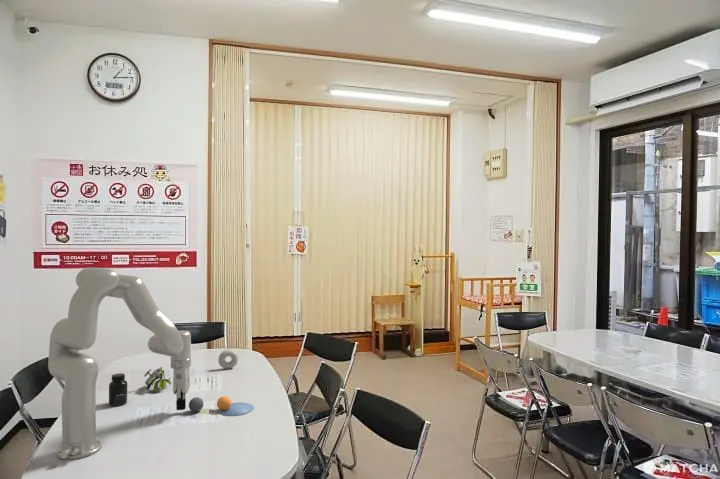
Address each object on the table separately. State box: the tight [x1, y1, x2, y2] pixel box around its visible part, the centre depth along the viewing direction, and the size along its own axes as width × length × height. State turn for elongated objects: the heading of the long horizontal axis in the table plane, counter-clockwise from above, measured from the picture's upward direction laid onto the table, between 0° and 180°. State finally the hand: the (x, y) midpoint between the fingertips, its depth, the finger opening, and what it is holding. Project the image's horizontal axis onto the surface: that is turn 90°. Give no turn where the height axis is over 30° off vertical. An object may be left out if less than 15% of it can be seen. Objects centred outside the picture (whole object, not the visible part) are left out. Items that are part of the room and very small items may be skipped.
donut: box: [218, 348, 239, 370], centre depth 250 cm, size 10×4×10 cm, turn 112°
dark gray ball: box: [188, 396, 204, 413], centre depth 192 cm, size 6×6×6 cm
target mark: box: [217, 401, 255, 417], centre depth 195 cm, size 14×14×1 cm
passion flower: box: [144, 366, 172, 394], centre depth 219 cm, size 11×11×12 cm
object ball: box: [216, 395, 232, 411], centre depth 194 cm, size 6×6×6 cm
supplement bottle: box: [108, 373, 128, 407], centre depth 200 cm, size 7×7×12 cm
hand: (181, 409), depth 191 cm, fingers closed
